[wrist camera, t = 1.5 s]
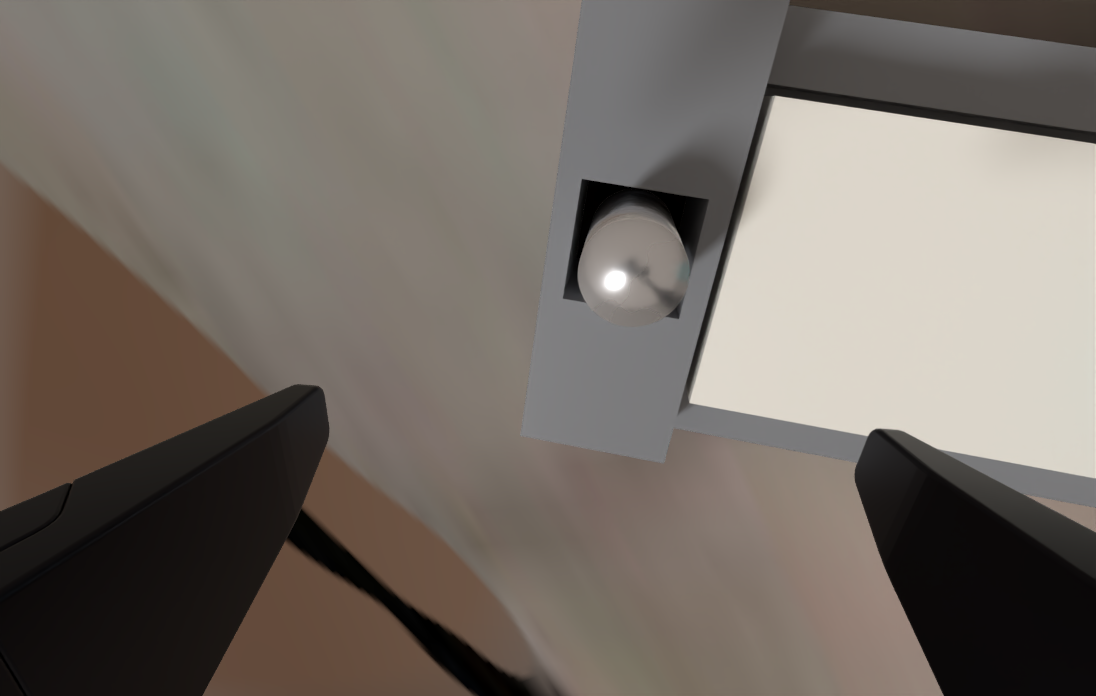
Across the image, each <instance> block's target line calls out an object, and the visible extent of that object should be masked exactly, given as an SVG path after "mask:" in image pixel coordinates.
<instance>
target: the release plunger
mask: <svg viewBox="0 0 1096 696" xmlns="http://www.w3.org/2000/svg"><path fill="white" fill-rule="evenodd" d="M689 278H690V267H689V261H688V257H687V254H686V251H685V249H684V246H683V244H682V241H681V239H680V236H679V234H678V231H677V229H676V226H675V223H674V221H673V218H672V216H671V213H670V211H669V209H668V207H667V206H666V205H665V203H664V202H663V201H662V200H661V199H660V198H659V197H657V196H656V195H654V194H653V193H651V192H648V191H646V190H642V189H625V190H621V191H618V192H616V193H614V194H612V195H610V196H609V197H607V198H606V199H605V200H604V201H603V202H602V203H601V204H600V205H599V207H598V208H597V210H596V212H595V214H594V216H593V219H592V222H591V225H590V228H589V231H588V235H587V238H586V241H585V244H584V247H583V251H582V254H581V257H580V261H579V265H578V283H579V288H580V291H581V294H582V296H583V298H584V300H585V301H586V303H587V305H588V306H589V307H590V308H591V309H592V310H593V311H594V312H595V313H596V314H597V315H598V316H600V317H601V318H603V319H604V320H606V321H608V322H610V323H613V324H616V325H620V326H626V327H639V326H645V325H649V324H652V323H655V322H657V321H659V320H661V319H663V318H664V317H666V316H667V315H669V314H670V313H671V312H672V311H673V310H674V309H675V308H676V307H677V306H678V304H679V303H680V302H681V300H682V299H683V297H684V295H685V293H686V290H687V287H688V283H689Z"/></svg>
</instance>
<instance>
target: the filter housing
mask: <svg viewBox="0 0 1096 696" xmlns="http://www.w3.org/2000/svg"><path fill="white" fill-rule="evenodd" d="M789 2H790V0H582V4H581V11H580V18H579V25H578V32H577V39H576V46H575V53H574V60H573V67H572V74H571V82H570V89H569V96H568V103H567V110H566V117H565V124H564V131H563V138H562V145H561V152H560V159H559V166H558V173H557V181H556V188H555V195H554V202H553V209H552V216H551V223H550V230H549V237H548V244H547V251H546V258H545V265H544V273H543V280H542V287H541V294H540V301H539V308H538V315H537V322H536V329H535V336H534V343H533V350H532V357H531V364H530V372H529V379H528V386H527V393H526V400H525V407H524V414H523V421H522V428H521V435H520V436H524V437H529V438H534V439H539V440H545V441H550V442H555V443H560V444H565V445H571V446H576V447H581V448H586V449H591V450H596V451H602V452H607V453H612V454H617V455H622V456H628V457H633V458H638V459H643V460H648V461H654V462H659V463H664V461H665V458H666V454H667V450H668V447H669V443H670V439H671V436H672V432H673V428H676V429H681V430H686V431H692V432H697V433H702V434H708V435H713V436H718V437H724V438H729V439H734V440H740V441H745V442H750V443H755V444H761V445H766V446H771V447H777V448H782V449H787V450H793V451H798V452H803V453H808V454H814V455H819V456H824V457H830V458H835V459H840V460H846V461H851V462H856V463H858V460H859V457H860V455H861V452H862V450H863V447H864V445H865V442H866V439H867V437H868V436H864V435H859V434H853V433H848V432H843V431H837V430H832V429H826V428H821V427H816V426H810V425H805V424H800V423H794V422H789V421H783V420H778V419H773V418H767V417H762V416H756V415H751V414H746V413H740V412H735V411H729V410H724V409H719V408H713V407H708V406H703V405H697V404H692V403H689V399H688V394H687V389H686V381H687V377H688V373H689V369H690V366H691V362H692V358H693V355H694V351H695V347H696V344H697V340H698V336H699V333H700V329H701V325H702V322H703V318H704V314H705V311H706V307H707V303H708V300H709V296H710V292H711V289H712V285H713V281H714V278H715V274H716V270H717V267H718V263H719V259H720V256H721V252H722V248H723V245H724V241H725V237H726V234H727V230H728V226H729V223H730V219H731V215H732V212H733V208H734V204H735V201H736V197H737V193H738V190H739V186H740V182H741V178H742V175H743V171H744V167H745V164H746V160H747V156H748V153H749V149H750V145H751V142H752V138H753V134H754V131H755V127H756V123H757V120H758V116H759V112H760V109H761V105H762V101H763V98H764V96H780V97H787V98H793V99H800V100H807V101H813V102H820V103H827V104H833V105H840V106H847V107H853V108H860V109H867V110H873V111H880V112H887V113H893V114H900V115H907V116H913V117H920V118H927V119H933V120H940V121H947V122H953V123H960V124H967V125H973V126H980V127H987V128H993V129H1000V130H1007V131H1013V132H1020V133H1027V134H1033V135H1040V136H1047V137H1053V138H1060V139H1067V140H1073V141H1080V142H1087V143H1093V144H1096V48H1093V47H1085V46H1078V45H1071V44H1064V43H1057V42H1050V41H1043V40H1035V39H1028V38H1021V37H1014V36H1007V35H1000V34H993V33H985V32H978V31H971V30H964V29H957V28H950V27H942V26H935V25H928V24H921V23H914V22H907V21H900V20H892V19H885V18H878V17H871V16H864V15H857V14H850V13H842V12H835V11H828V10H821V9H814V8H807V7H800V6H792V5H789ZM589 180H592V181H598V182H604V183H610V184H616V185H623V186H629V187H635V188H641V189H647V190H653V191H659V192H666V193H672V194H678V195H684V196H687V197H686V202H685V206H684V210H683V214H682V219H681V223H680V227H679V231H678V234H679V236H680V239H681V241H682V244H683V246H684V249H685V251H686V254H687V257H688V261H689V267H690V278H689V283H688V287H687V290H686V293H685V295H684V297H683V299H682V300H681V302H680V303H679V304H678V306H677V307H676V308H675V309H674V310H673V311H672V312H671V313H670V314H669V315H667V316H666V317H664V318H663V319H661V320H659V321H657V322H655V323H652V324H649V325H645V326H639V327H626V326H620V325H616V324H613V323H610V322H608V321H606V320H604V319H603V318H601V317H600V316H598V315H597V314H596V313H595V312H594V311H593V310H592V309H591V308H590V307H589V306H588V305H587V303H586V301H585V300H584V298H583V296H582V294H581V291H580V288H579V283H578V265H579V261H580V259H577V258H576V257H577V251H578V245H579V238H580V232H581V226H582V220H583V214H584V208H585V202H586V196H587V190H588V184H589ZM938 450H940V449H938ZM940 451H942V452H944V453H946V454H948V455H950V456H951V457H953V458H955V459H957V460H959V461H961V462H963V463H965V464H967V465H969V466H970V467H972V468H974V469H976V470H978V471H980V472H982V473H984V474H986V475H988V476H989V477H991V478H993V479H995V480H997V481H999V482H1001V483H1003V484H1005V485H1007V486H1008V487H1010V488H1012V489H1014V490H1016V491H1018V492H1020V493H1022V494H1026V495H1031V496H1036V497H1042V498H1047V499H1052V500H1058V501H1063V502H1068V503H1074V504H1079V505H1084V506H1089V507H1095V508H1096V478H1091V477H1085V476H1080V475H1074V474H1069V473H1064V472H1058V471H1053V470H1047V469H1042V468H1037V467H1031V466H1026V465H1021V464H1015V463H1010V462H1004V461H999V460H994V459H988V458H983V457H977V456H972V455H967V454H961V453H956V452H950V451H945V450H940Z"/></svg>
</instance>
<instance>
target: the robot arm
mask: <svg viewBox="0 0 1096 696" xmlns="http://www.w3.org/2000/svg"><path fill="white" fill-rule="evenodd" d="M328 438H329V422H328V415H327V408H326V402H325V395H324V392H323V390H322V388H320V387H319V386H314V385H301V384H297V385H293V386H290V387H288V388H286V389H283V390H281V391H279V392H277V393H274V394H272V395H270V396H267V397H265V398H263V399H260V400H258V401H256V402H253V403H251V404H249V405H246V406H244V407H242V408H240V409H237V410H235V411H233V412H231V413H228V414H226V415H223V416H221V417H219V418H216V419H214V420H212V421H209V422H207V423H205V424H203V425H200V426H198V427H196V428H193V429H191V430H189V431H186V432H184V433H182V434H179V435H177V436H175V437H173V438H170V439H168V440H166V441H163V442H161V443H159V444H156V445H154V446H152V447H149V448H147V449H145V450H142V451H140V452H138V453H135V454H133V455H131V456H129V457H126V458H124V459H122V460H119V461H117V462H115V463H112V464H110V465H108V466H105V467H103V468H101V469H98V470H96V471H94V472H92V473H89V474H87V475H85V476H83V477H80V478H78V479H75V480H74V481H73V483H72V484H71V483H66V484H64V485H61V486H59V487H57V488H54V489H52V490H50V491H47V492H45V493H43V494H40V495H38V496H36V497H33V498H31V499H29V500H26V501H24V502H21V503H19V504H17V505H14V506H12V507H9V508H7V509H5V510H2V511H0V696H202V695H203V694H204V692H205V689H206V688H207V686H208V684H209V682H210V680H211V678H212V677H213V675H214V673H215V671H216V669H217V667H218V666H219V664H220V662H221V660H222V658H223V656H224V654H225V652H226V651H227V649H228V647H229V645H230V643H231V641H232V639H233V638H234V636H235V634H236V632H237V630H238V628H239V626H240V624H241V623H242V621H243V619H244V617H245V615H246V613H247V611H248V610H249V608H250V605H251V604H252V602H253V600H254V598H255V596H256V595H257V593H258V591H259V589H260V587H261V585H262V583H263V582H264V580H265V578H266V576H267V574H268V572H269V570H270V568H271V567H272V565H273V563H274V561H275V559H276V557H277V555H278V554H279V552H280V550H281V548H282V546H283V544H284V542H285V540H286V539H287V537H288V535H289V533H290V531H291V529H292V527H293V525H294V523H295V521H296V519H297V517H298V515H299V512H300V510H301V508H302V505H303V503H304V500H305V497H306V495H307V492H308V490H309V487H310V485H311V482H312V480H313V477H314V474H315V472H316V470H317V467H318V465H319V462H320V459H321V457H322V454H323V452H324V449H325V447H326V444H327V441H328ZM855 483H856V486H857V489H858V492H859V495H860V498H861V501H862V504H863V507H864V510H865V513H866V516H867V519H868V522H869V525H870V527H871V530H872V533H873V536H874V539H875V542H876V545H877V548H878V551H879V554H880V556H881V559H882V562H883V564H884V567H885V569H886V572H887V574H888V576H889V579H890V581H891V583H892V585H893V587H894V590H895V592H896V594H897V596H898V598H899V600H900V602H901V605H902V607H903V609H904V611H905V613H906V615H907V618H908V620H909V622H910V624H911V626H912V628H913V630H914V633H915V635H916V637H917V639H918V641H919V643H920V646H921V648H922V650H923V652H924V654H925V656H926V658H927V661H928V663H929V665H930V667H931V669H932V671H933V674H934V676H935V678H936V680H937V682H938V684H939V686H940V689H941V691H942V693H943V695H944V696H1096V532H1094V531H1092V530H1090V529H1088V528H1086V527H1085V526H1083V525H1081V524H1079V523H1077V522H1075V521H1073V520H1071V519H1069V518H1067V517H1066V516H1064V515H1062V514H1060V513H1058V512H1056V511H1054V510H1052V509H1050V508H1048V507H1046V506H1045V505H1043V504H1041V503H1039V502H1037V501H1035V500H1033V499H1031V498H1029V497H1027V496H1026V495H1024V494H1022V493H1020V492H1018V491H1016V490H1014V489H1012V488H1010V487H1008V486H1007V485H1005V484H1003V483H1001V482H999V481H997V480H995V479H993V478H991V477H989V476H988V475H986V474H984V473H982V472H980V471H978V470H976V469H974V468H972V467H970V466H969V465H967V464H965V463H963V462H961V461H959V460H957V459H955V458H953V457H951V456H950V455H948V454H946V453H944V452H942V451H940V450H938V449H936V448H934V447H932V446H931V445H929V444H927V443H925V442H923V441H921V440H919V439H917V438H915V437H913V436H912V435H910V434H908V433H906V432H904V431H901V430H895V429H881V428H877V429H874V430H872V431H871V432H870V433H869V435H868V437H867V439H866V442H865V445H864V447H863V450H862V452H861V455H860V457H859V460H858V463H857V465H856V468H855Z"/></svg>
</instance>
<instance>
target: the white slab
mask: <svg viewBox="0 0 1096 696" xmlns="http://www.w3.org/2000/svg"><path fill="white" fill-rule="evenodd" d="M686 389H687V394H688V399H689V403H692V404H697V405H703V406H708V407H713V408H719V409H724V410H729V411H735V412H740V413H746V414H751V415H756V416H762V417H767V418H773V419H778V420H783V421H789V422H794V423H800V424H805V425H810V426H816V427H821V428H826V429H832V430H837V431H843V432H848V433H853V434H859V435H864V436H868V435H869V433H870V432H871V431H872V430H874V429H877V428H881V429H895V430H901V431H904V432H906V433H908V434H910V435H912V436H913V437H915V438H917V439H919V440H921V441H923V442H925V443H927V444H929V445H931V446H932V447H934V448H936V449H940V450H945V451H950V452H956V453H961V454H967V455H972V456H977V457H983V458H988V459H994V460H999V461H1004V462H1010V463H1015V464H1021V465H1026V466H1031V467H1037V468H1042V469H1047V470H1053V471H1058V472H1064V473H1069V474H1074V475H1080V476H1085V477H1091V478H1096V144H1093V143H1087V142H1080V141H1073V140H1067V139H1060V138H1053V137H1047V136H1040V135H1033V134H1027V133H1020V132H1013V131H1007V130H1000V129H993V128H987V127H980V126H973V125H967V124H960V123H953V122H947V121H940V120H933V119H927V118H920V117H913V116H907V115H900V114H893V113H887V112H880V111H873V110H867V109H860V108H853V107H847V106H840V105H833V104H827V103H820V102H813V101H807V100H800V99H793V98H787V97H780V96H764V98H763V101H762V105H761V109H760V112H759V116H758V120H757V123H756V127H755V131H754V134H753V138H752V142H751V145H750V149H749V153H748V156H747V160H746V164H745V167H744V171H743V175H742V178H741V182H740V186H739V190H738V193H737V197H736V201H735V204H734V208H733V212H732V215H731V219H730V223H729V226H728V230H727V234H726V237H725V241H724V245H723V248H722V252H721V256H720V259H719V263H718V267H717V270H716V274H715V278H714V281H713V285H712V289H711V292H710V296H709V300H708V303H707V307H706V311H705V314H704V318H703V322H702V325H701V329H700V333H699V336H698V340H697V344H696V347H695V351H694V355H693V358H692V362H691V366H690V369H689V373H688V377H687V381H686Z"/></svg>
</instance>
